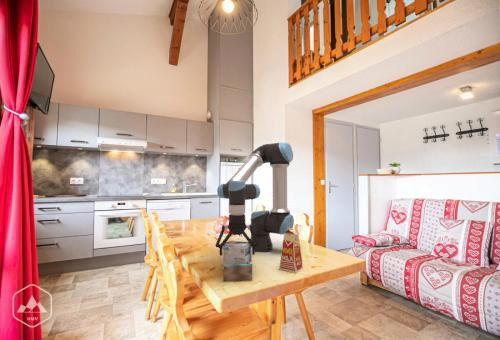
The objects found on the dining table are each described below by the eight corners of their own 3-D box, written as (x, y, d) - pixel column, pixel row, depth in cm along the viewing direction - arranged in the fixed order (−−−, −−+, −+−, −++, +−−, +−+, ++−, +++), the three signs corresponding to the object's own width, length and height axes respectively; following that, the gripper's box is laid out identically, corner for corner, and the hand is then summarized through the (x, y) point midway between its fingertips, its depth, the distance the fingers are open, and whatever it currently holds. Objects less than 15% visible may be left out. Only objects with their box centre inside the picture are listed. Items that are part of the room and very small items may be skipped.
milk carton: (296, 273, 112) (296, 228, 113) (278, 269, 117) (277, 227, 118) (303, 267, 120) (303, 225, 121) (286, 264, 125) (285, 224, 125)
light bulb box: (250, 265, 113) (250, 241, 113) (245, 270, 106) (245, 245, 107) (229, 263, 116) (229, 239, 117) (223, 267, 110) (223, 243, 110)
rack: (246, 259, 133) (246, 246, 133) (252, 280, 104) (252, 264, 105) (224, 260, 132) (224, 247, 132) (223, 281, 103) (223, 265, 103)
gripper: (262, 212, 117) (262, 258, 116) (210, 213, 115) (210, 260, 114) (264, 214, 110) (265, 264, 109) (209, 215, 107) (209, 266, 106)
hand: (237, 262), depth 111 cm, fingers closed on light bulb box, 12 cm apart
